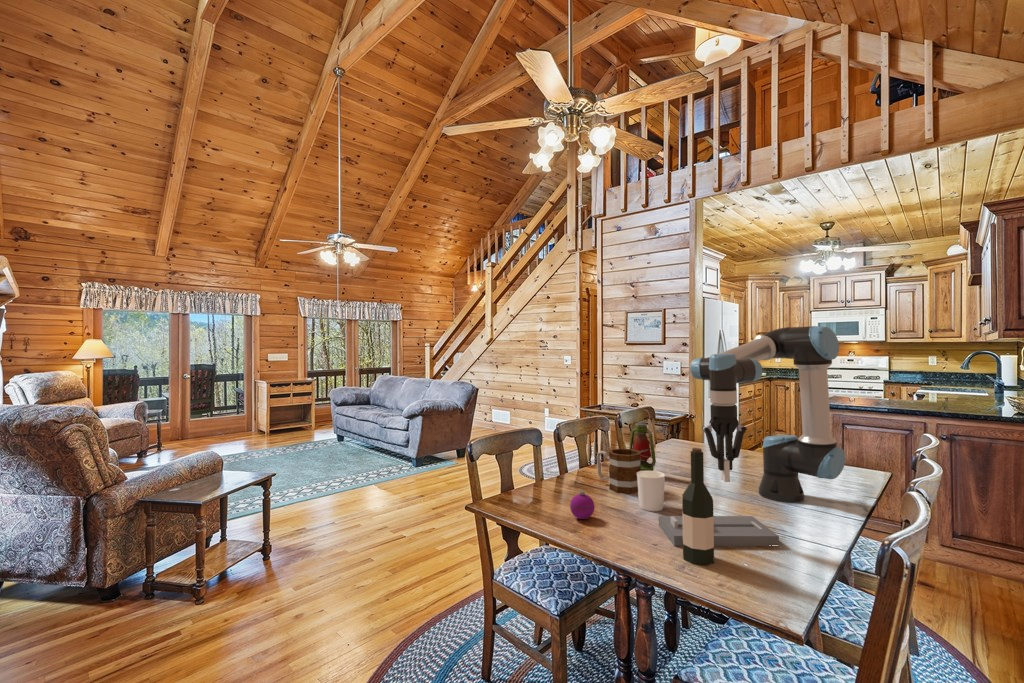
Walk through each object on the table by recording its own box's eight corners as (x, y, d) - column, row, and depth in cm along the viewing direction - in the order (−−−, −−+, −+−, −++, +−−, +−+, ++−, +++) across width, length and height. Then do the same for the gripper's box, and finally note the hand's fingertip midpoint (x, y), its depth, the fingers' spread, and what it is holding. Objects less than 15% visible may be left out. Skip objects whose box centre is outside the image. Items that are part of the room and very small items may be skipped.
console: (752, 525, 153) (752, 509, 153) (779, 546, 137) (778, 529, 137) (658, 525, 153) (658, 509, 153) (674, 546, 137) (674, 528, 137)
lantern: (622, 474, 213) (621, 408, 214) (634, 470, 221) (634, 405, 221) (649, 480, 203) (649, 411, 204) (662, 475, 211) (661, 408, 211)
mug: (648, 488, 193) (647, 451, 194) (633, 496, 183) (632, 457, 183) (605, 479, 206) (604, 445, 206) (589, 486, 196) (588, 450, 196)
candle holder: (666, 513, 165) (666, 478, 165) (637, 511, 167) (637, 477, 167) (663, 503, 174) (663, 471, 174) (636, 502, 176) (635, 469, 176)
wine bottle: (676, 552, 133) (675, 446, 133) (705, 551, 134) (704, 445, 134) (690, 566, 125) (689, 452, 125) (720, 565, 126) (719, 451, 126)
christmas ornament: (567, 521, 158) (567, 491, 158) (573, 513, 165) (573, 484, 166) (591, 524, 155) (591, 493, 155) (596, 516, 162) (596, 486, 162)
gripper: (739, 401, 149) (741, 476, 149) (697, 402, 149) (699, 477, 149) (750, 405, 141) (753, 484, 141) (706, 406, 142) (708, 484, 142)
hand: (725, 480), depth 145 cm, fingers closed
